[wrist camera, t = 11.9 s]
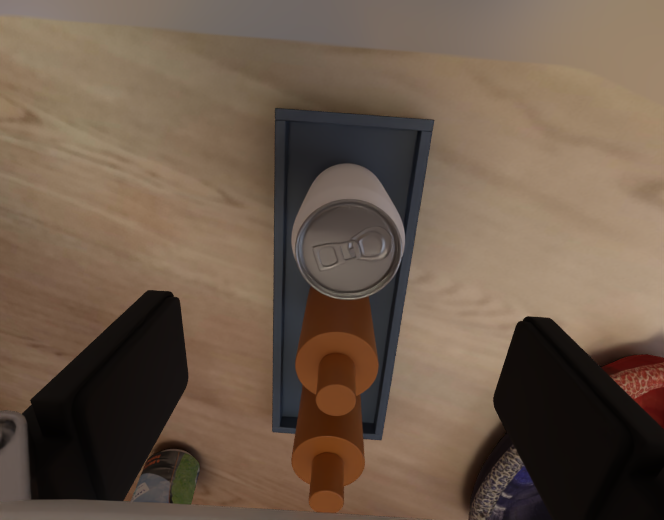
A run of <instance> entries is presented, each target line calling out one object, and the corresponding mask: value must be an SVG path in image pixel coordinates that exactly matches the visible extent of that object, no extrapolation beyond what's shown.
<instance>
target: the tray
mask: <svg viewBox="0 0 664 520" xmlns="http://www.w3.org/2000/svg"><path fill="white" fill-rule="evenodd" d="M433 125H434V120H429V119H416V118H402V117H389V116H376V115H362V114H349V113H336V112H322V111H309V110H295V109H282V108H275V185H274V299H273V413H272V432H278V433H291V434H295V433H296V426H297V419H298V413H299V406H300V399H301V393H302V386H303V384H302V383H301V382H300V380H299V378H298V376H297V373H296V369H295V360H296V354H297V349H298V344H299V339H300V334H301V329H302V324H303V319H304V314H305V309H306V304H307V299H308V294H309V290H310V287H311V285H310V284H309V283H308V282H307V281H306V280H305V279H304V277H303V276H302V274H301V272H300V270H299V268H298V266H297V262H296V260H295V258H294V254H293V250H292V242H291V239H292V229H293V225H294V222H295V219H296V216H297V214H298V212H299V210H300V207H301V205H302V203H303V201H304V199H305V197H306V195H307V193H308V191H309V189H310V187H311V185H312V183H313V182H314V180H315V179H316V178H317V176H318V175H319V174H320V173H322V172H323V171H324V170H326V169H327V168H329V167H331V166H334V165H337V164H343V163H350V164H356V165H360V166H362V167H364V168H366V169H368V170H369V171H371V172H372V173H373V174H374V175H375V176H376V177H377V178H378V180H379V181H380V182H381V184H382V186H383V187H384V189H385V191H386V192H387V194H388V196H389V197H390V199H391V201H392V202H393V204H394V206H395V208H396V209H397V211H398V213H399V215H400V218H401V220H402V223H403V227H404V232H405V247H404V252H403V255H402V258H401V262H400V265H399V268H398V270H397V272H396V274H395V275H394V277H393V278H392V280H391V281H390V282H389V283H388V284H387V285H386V286H385V287H384V288H382V289H381V290H380V291H378V292H376V293H375V294H373V295H370V296H369V301H370V308H371V315H372V322H373V328H374V335H375V342H376V349H377V356H378V364H379V368H378V374H377V376H376V379H375V380H374V382H373V384H372V385H371V386H370V387H369V388H368V389H367V390H366V391H364V392H363V393H361V394H360V396H361V412H362V428H363V439H371V440H382V434H383V428H384V422H385V416H386V410H387V404H388V398H389V392H390V386H391V380H392V374H393V368H394V362H395V356H396V349H397V343H398V337H399V331H400V325H401V319H402V313H403V307H404V301H405V295H406V289H407V283H408V277H409V271H410V264H411V258H412V252H413V246H414V240H415V234H416V228H417V222H418V216H419V210H420V204H421V198H422V192H423V186H424V180H425V173H426V167H427V161H428V155H429V149H430V143H431V137H432V131H433Z"/></svg>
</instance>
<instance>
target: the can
mask: <svg viewBox="0 0 664 520" xmlns="http://www.w3.org/2000/svg"><path fill="white" fill-rule="evenodd" d="M291 242H292V250H293V254H294V258H295V260H296V262H297V266H298V268H299V270H300V272H301V274H302V276H303V277H304V279H305V280H306V281H307V282H308V283H309V284H310V285H311V286H312V287H313V288H314V289H316V290H317V291H318V292H320V293H322V294H324V295H326V296H329V297H332V298H335V299H341V300H356V299H361V298H365V297H368V296H370V295H373V294H375V293H376V292H378V291H380V290H381V289H382V288H384V287H385V286H386V285H387V284H388V283H389V282H390V281H391V280H392V278H393V277H394V275H395V274H396V272H397V270H398V268H399V265H400V262H401V258H402V255H403V252H404V247H405V232H404V227H403V223H402V220H401V218H400V215H399V213H398V211H397V209H396V208H395V206H394V204H393V202H392V201H391V199H390V197H389V196H388V194H387V192H386V191H385V189H384V187H383V186H382V184H381V182H380V181H379V180H378V178H377V177H376V176H375V175H374V174H373V173H372V172H371V171H369V170H368V169H366V168H364V167H362V166H360V165H356V164H350V163H343V164H337V165H334V166H331V167H329V168H327V169H326V170H324V171H323V172H322V173H320V174H319V175H318V176H317V178H316V179H315V180H314V182H313V183H312V185H311V187H310V189H309V191H308V193H307V195H306V197H305V199H304V201H303V203H302V205H301V207H300V210H299V212H298V214H297V216H296V219H295V222H294V225H293V229H292V239H291Z"/></svg>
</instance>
